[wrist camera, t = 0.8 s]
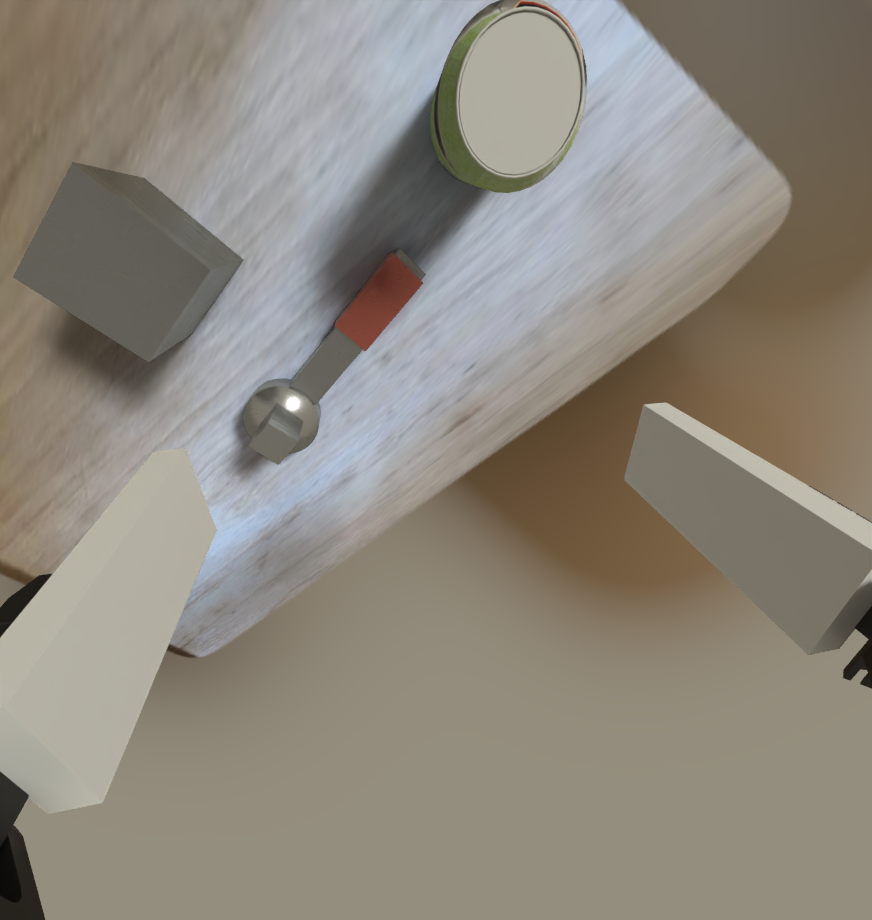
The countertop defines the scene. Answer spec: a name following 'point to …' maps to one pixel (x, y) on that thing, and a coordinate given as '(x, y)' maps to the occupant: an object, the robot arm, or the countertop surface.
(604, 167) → the countertop surface
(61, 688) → the robot arm
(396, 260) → the ratchet
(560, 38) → the beverage can
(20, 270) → the brushed steel cube
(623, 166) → the countertop surface
